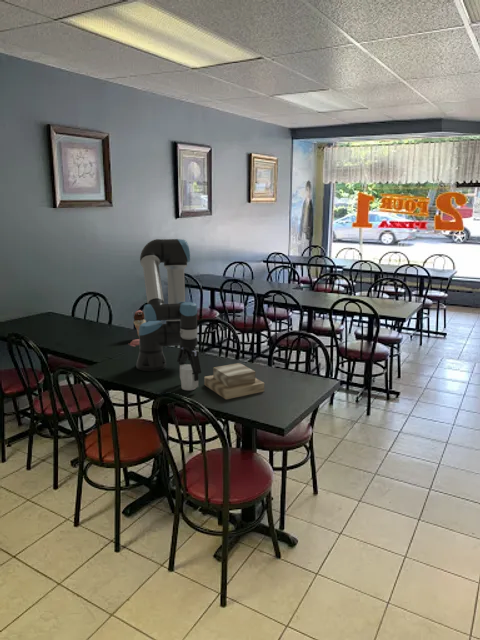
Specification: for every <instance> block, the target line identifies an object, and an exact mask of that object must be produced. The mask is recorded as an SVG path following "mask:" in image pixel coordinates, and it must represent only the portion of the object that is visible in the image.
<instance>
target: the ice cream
mask: <svg viewBox="0 0 480 640" xmlns="http://www.w3.org/2000/svg"><path fill="white" fill-rule="evenodd" d="M133 319H134V320H133V324H134V327H135V329H136V332H137V333H136V334H137V336H138V337H139V327H140V325H141V324H143V323H145V322H147V321H146V320H145V317H144V310H143V311H142V310H141V309H139V310H136V311H135V312H134V315H133ZM129 345H130V346H131V347H133V348H134V347H136V346H139V338H137V339H133V340H132V341H130V343H129Z"/></svg>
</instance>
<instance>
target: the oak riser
mask: <svg viewBox="0 0 480 640" xmlns="http://www.w3.org/2000/svg"><path fill="white" fill-rule="evenodd" d="M256 374H257V373H256V371H255V370H254V369H251V368H250V367H248V366H246V365H244V364H242V363H240V362H237V363H230V364H226V365H219V366H215V367H213V374H212V375H207V376H204V386H206V387H207V388H209V389H210V390H211V391H213V393H216V394H217V395H219V396H220V397H221V398H223V399H224V400H230V399H234V398H239V397H245V396H248V395H253V394H257V393H264V392H265V382H264V381H262V380H260V379H258V378H257V377H256Z"/></svg>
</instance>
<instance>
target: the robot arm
mask: <svg viewBox="0 0 480 640" xmlns="http://www.w3.org/2000/svg"><path fill="white" fill-rule="evenodd" d="M139 261H140V266H141V267H142V270H143V276H144V277H143V278H144V284H145V285H144V286H145V292H146V293H145V294H146V301H147V302H146V303H147V304H144V306H143V313H144V317H145V318H144V320H145V321H146V322H145V323H143V324H141V325H140V327H139V336H138V339H139V345H138V346H139V352H138V357H137V360H136V362H135V363H136V367H135V368H136V369H138V370H140V371H142V372H143V371H144V372H157V371H161V370H163V369H165V368H167V360H166V357H165V355H164V351H163V347H176V346H177V347H178V346H179V350H178V351H179V352H178V356H177V361H176V362H177V363H178V365H179V368H180V367H181V366H182V365H187V363H186V361H187V360H188V361H189V364H191V367H192V370H193V373H192V388H195V387H196V388H199V374H201V373H202V370H201V365H200V358H199V351H198V350H196V349H195V348H196V347H197V346H198V338H197V337H198V311H199V310H198V304H197V303H195V302H192V301H191V302H190V301H189V302H188V301H187V302H186V288H185V287H186V285H185V283H186V281H185V270H186V267H188V263H190V262H191V251H190V246H189V244H188V241H186V240H185V239H181V238H174V239H173V238H169V239H168V238H166V239H165V238H163V239H162V238H161V239H159V238H156V239H153V240H150V241H148V242H147V244H145V245H144V247H143V249H142V250H141V252H140V257H139ZM161 263H162V264H163V267H164V268H165V269H166V271H167V273H166V274H167V275H166V276H167V295H168V296H167V303H165V299H164V293H163V287H162V280H161V272H160V264H161ZM162 321H165V323H163V322H162ZM195 350H196V351H195ZM179 379H180V380H181V375H180V374H179Z"/></svg>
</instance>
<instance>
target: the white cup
mask: <svg viewBox="0 0 480 640" xmlns="http://www.w3.org/2000/svg"><path fill="white" fill-rule="evenodd" d="M192 373H193V370H192V367H191V364H190V363H189V364H188V363H186V365H182V366H181V367H180V366H179V376H180V375H181V379H180V383H181V384H180V385H181V387H180V388H181V389H182V390H184V391H193V390H196V389H197V387H195V388H192Z"/></svg>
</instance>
